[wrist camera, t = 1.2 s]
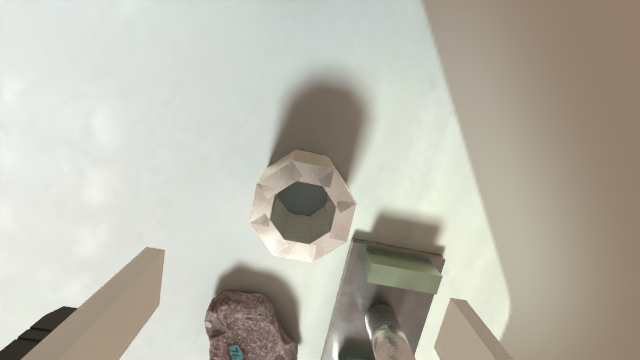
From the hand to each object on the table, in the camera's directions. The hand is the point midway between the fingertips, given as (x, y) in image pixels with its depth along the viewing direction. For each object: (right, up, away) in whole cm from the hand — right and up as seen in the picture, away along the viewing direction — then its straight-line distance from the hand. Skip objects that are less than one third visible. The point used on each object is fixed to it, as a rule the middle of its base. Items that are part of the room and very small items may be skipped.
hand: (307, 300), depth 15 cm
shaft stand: (+7, -9, +21) cm, 24 cm away
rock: (-7, -11, +22) cm, 25 cm away
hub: (-1, +4, +18) cm, 19 cm away
